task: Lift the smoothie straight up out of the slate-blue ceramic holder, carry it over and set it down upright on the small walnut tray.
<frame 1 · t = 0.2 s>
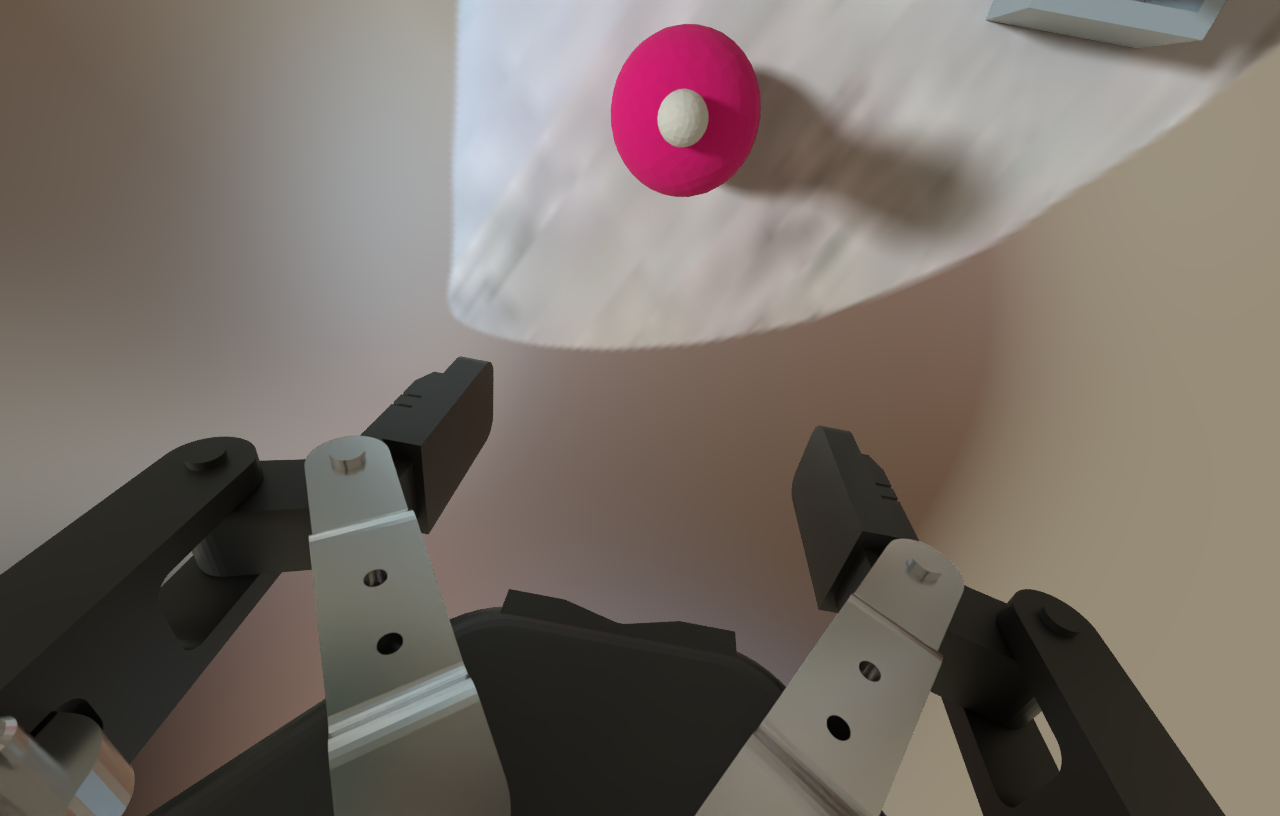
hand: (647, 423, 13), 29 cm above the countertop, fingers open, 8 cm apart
pepper mill: (689, 111, 34), on the countertop
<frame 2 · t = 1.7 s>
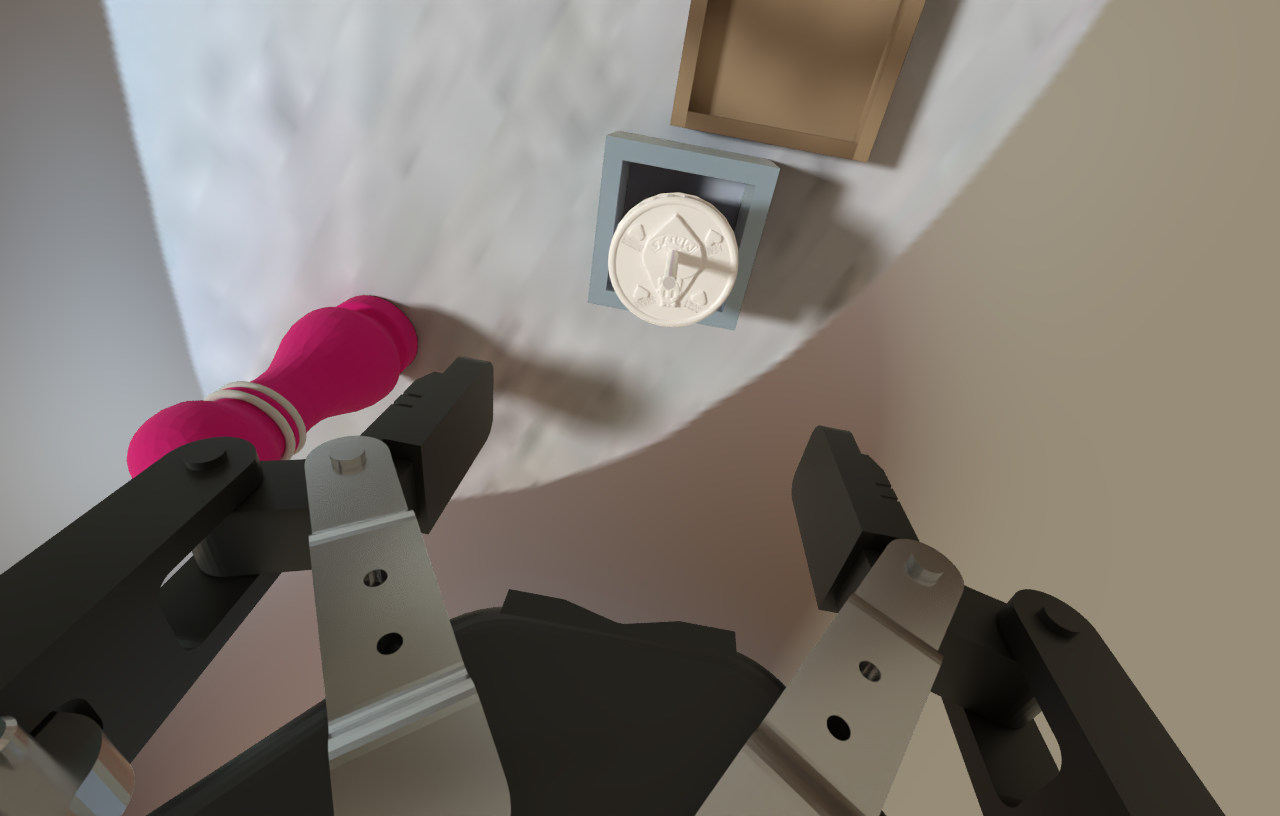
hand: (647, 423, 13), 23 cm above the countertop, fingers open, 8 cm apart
tray: (794, 24, 27), on the countertop
holder: (678, 224, 32), on the countertop
pepper mill: (380, 332, 39), on the countertop
smoothie: (678, 223, 33), resting in holder
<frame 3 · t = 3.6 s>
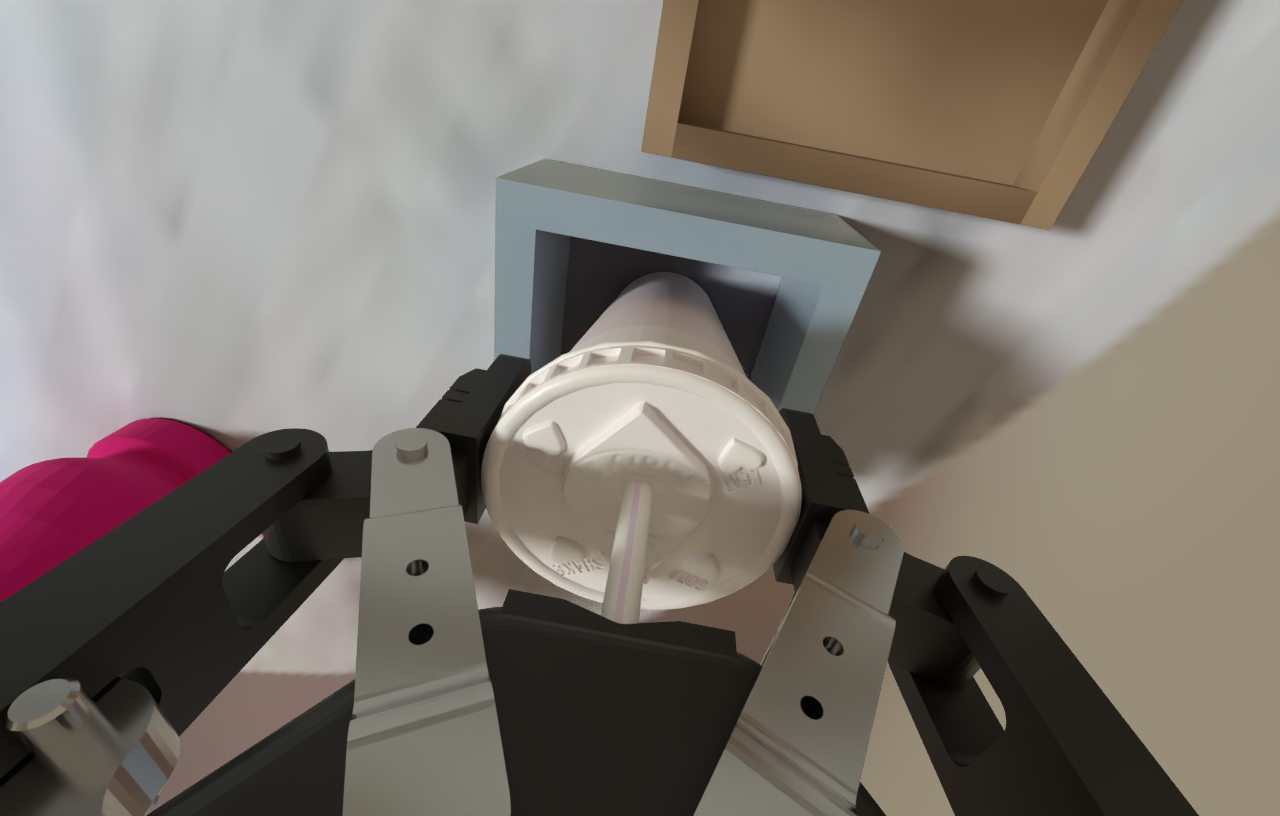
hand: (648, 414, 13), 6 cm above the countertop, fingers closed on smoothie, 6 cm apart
holder: (663, 323, 18), on the countertop
pepper mill: (194, 468, 25), on the countertop
smoothie: (663, 321, 18), resting in holder, touching gripper
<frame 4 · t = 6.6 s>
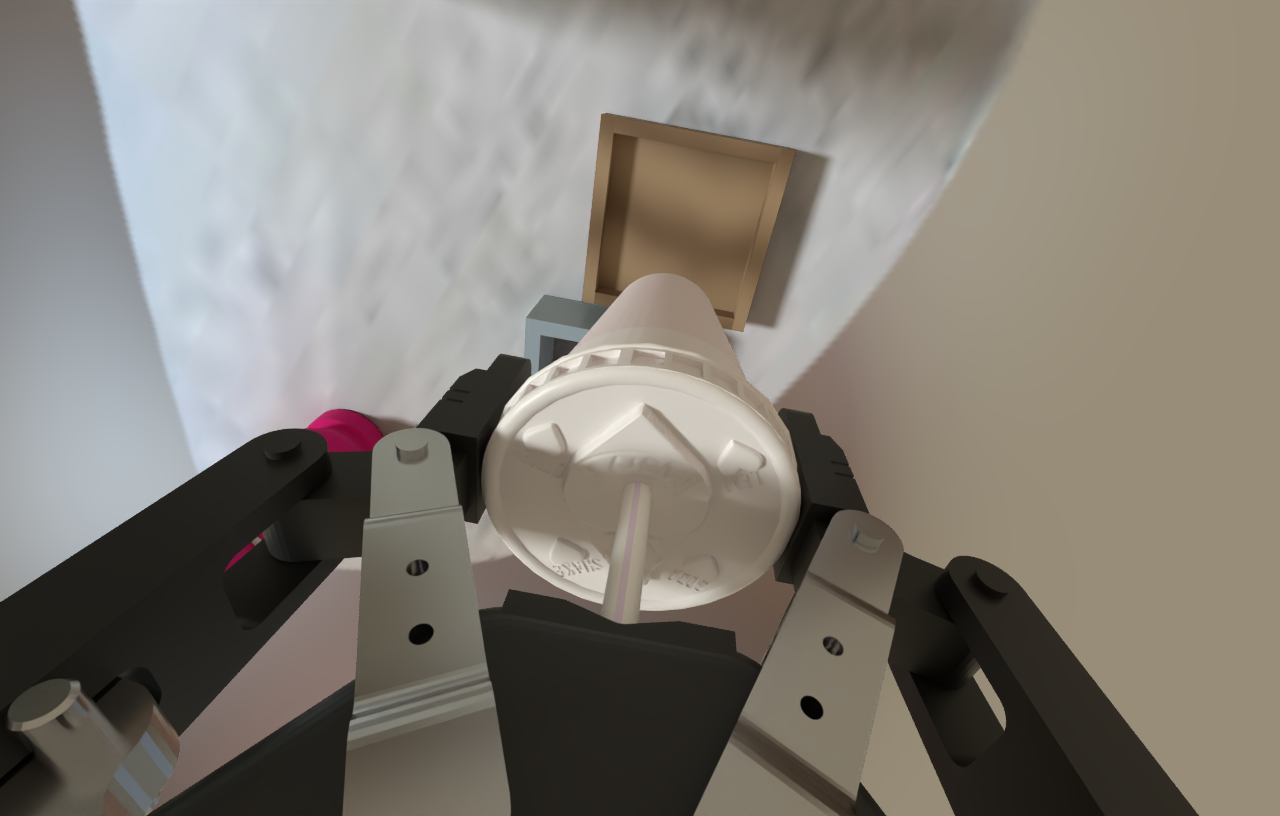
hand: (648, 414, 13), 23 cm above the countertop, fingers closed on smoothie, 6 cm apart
tray: (679, 225, 33), on the countertop
holder: (599, 363, 39), on the countertop
pepper mill: (353, 437, 45), on the countertop
smoothie: (663, 322, 18), point 17 cm above the countertop, touching gripper
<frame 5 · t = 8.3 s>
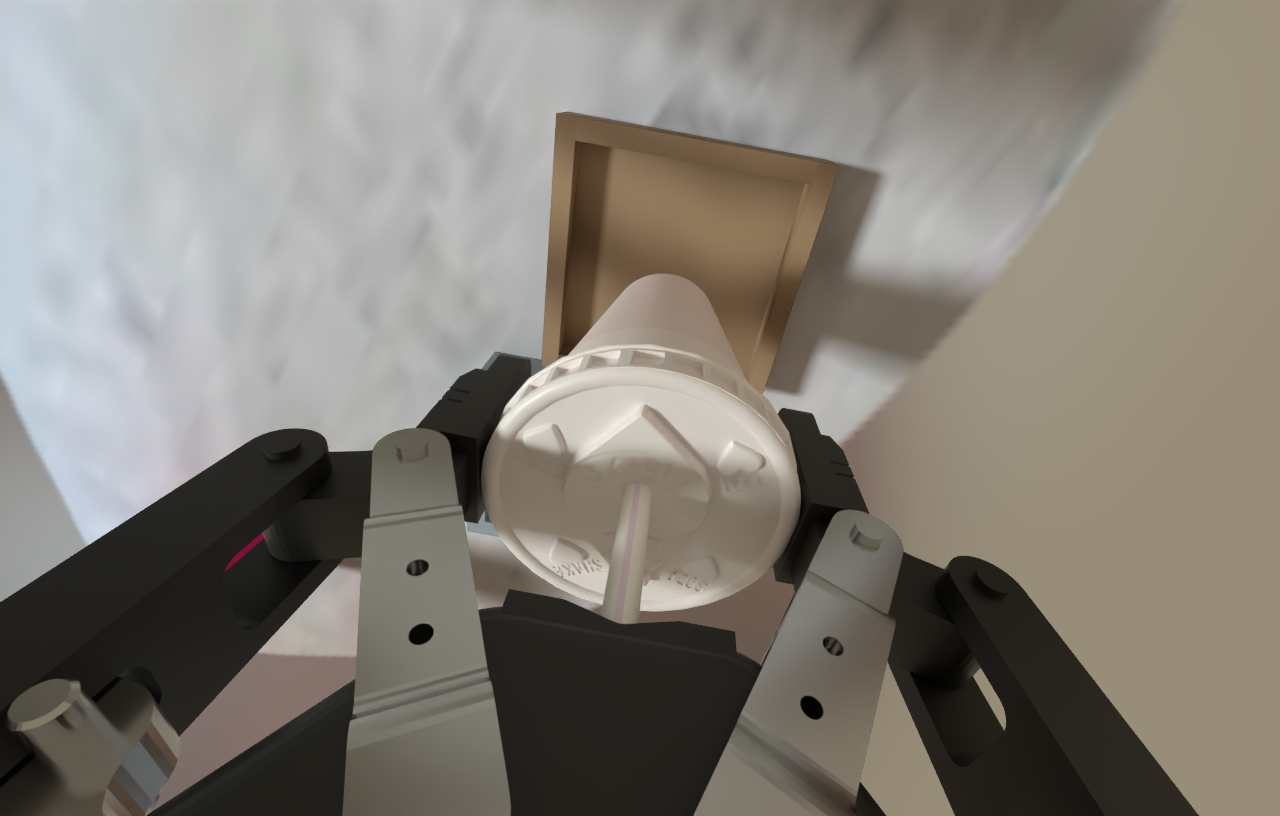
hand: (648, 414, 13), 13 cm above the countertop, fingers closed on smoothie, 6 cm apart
tray: (672, 265, 24), on the countertop
holder: (571, 435, 30), on the countertop
smoothie: (663, 322, 18), point 7 cm above the countertop, touching gripper
when the fingers open (9 cm above the countertop, at t = 9.8 s): smoothie drops 1 cm, resting on tray.
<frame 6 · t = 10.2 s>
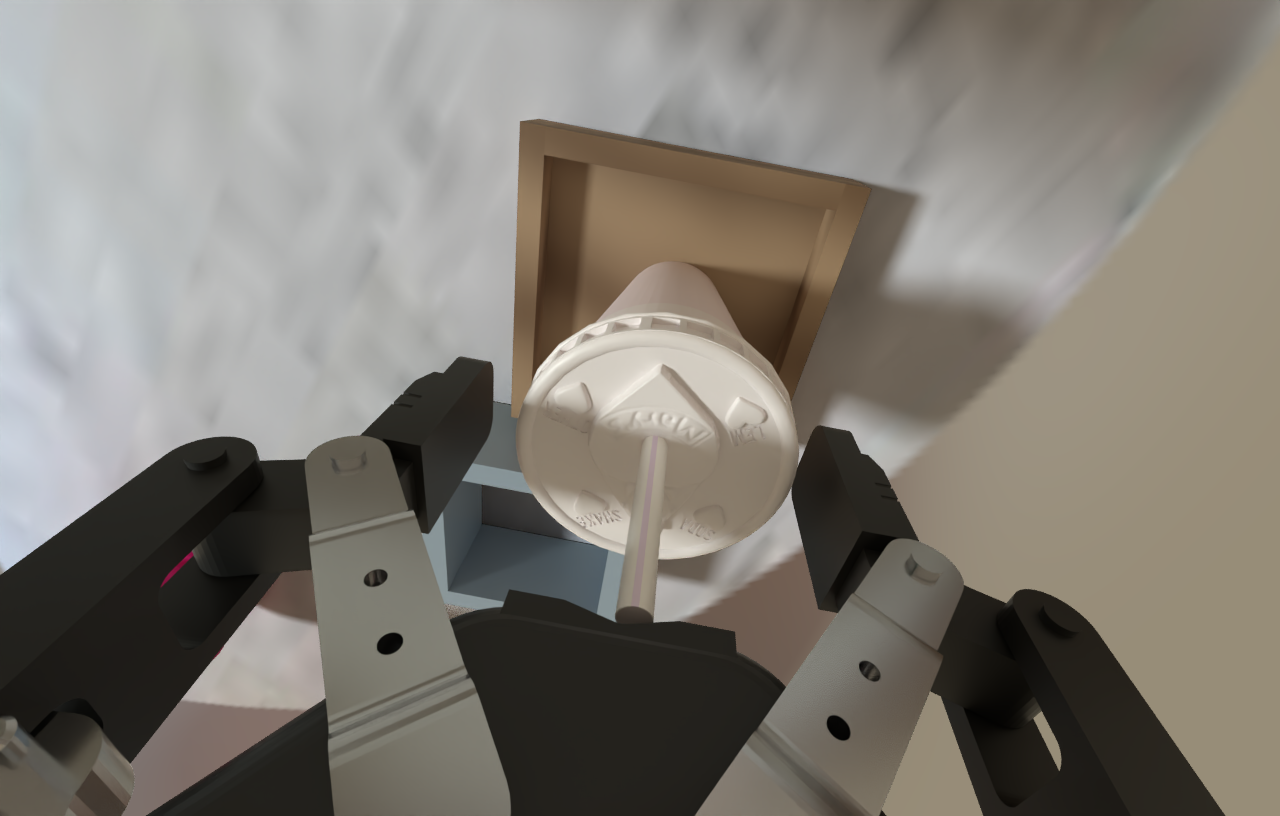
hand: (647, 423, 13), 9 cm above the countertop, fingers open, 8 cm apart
tray: (666, 300, 20), on the countertop
holder: (550, 487, 26), on the countertop
smoothie: (671, 307, 20), point 1 cm above the countertop, touching tray
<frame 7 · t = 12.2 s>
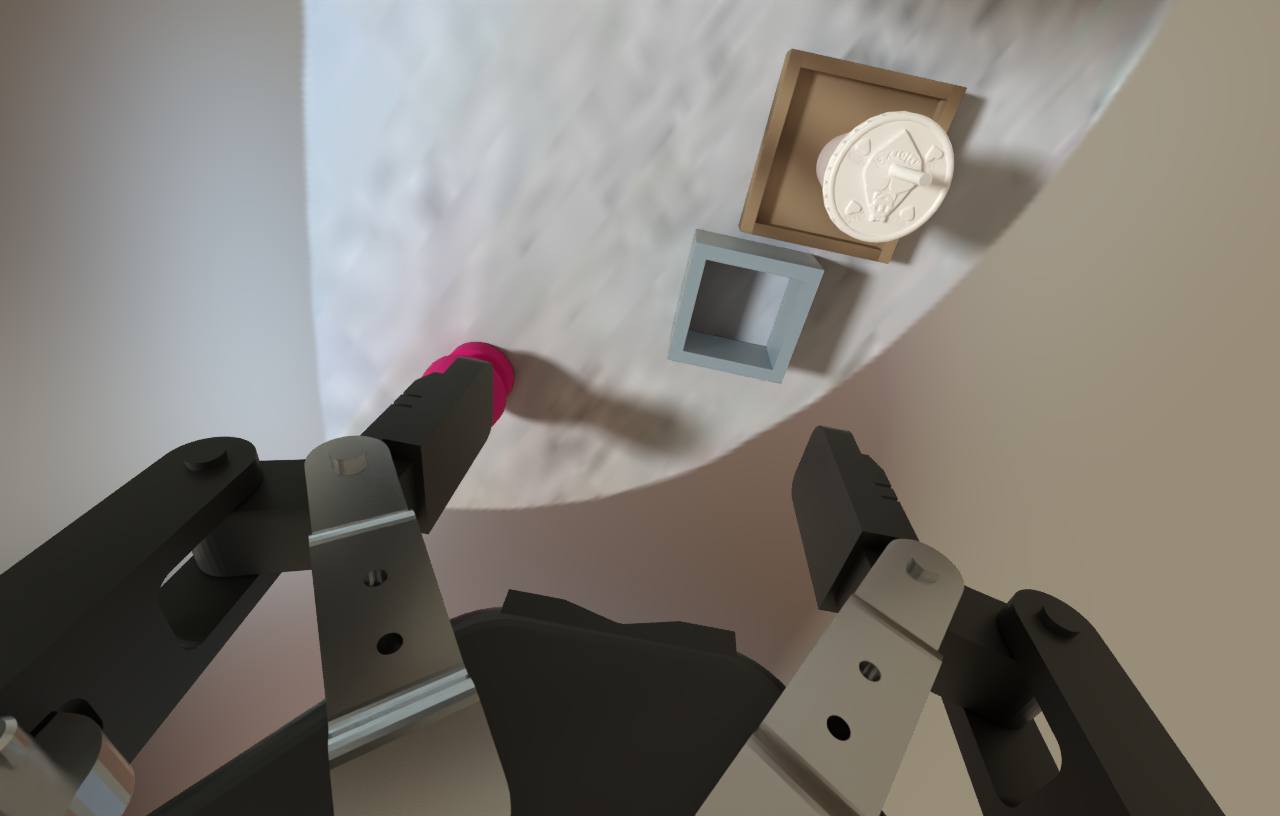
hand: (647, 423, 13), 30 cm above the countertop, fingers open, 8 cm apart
tray: (836, 162, 36), on the countertop
holder: (737, 298, 41), on the countertop
pepper mill: (483, 371, 47), on the countertop
smoothie: (843, 163, 35), point 1 cm above the countertop, touching tray
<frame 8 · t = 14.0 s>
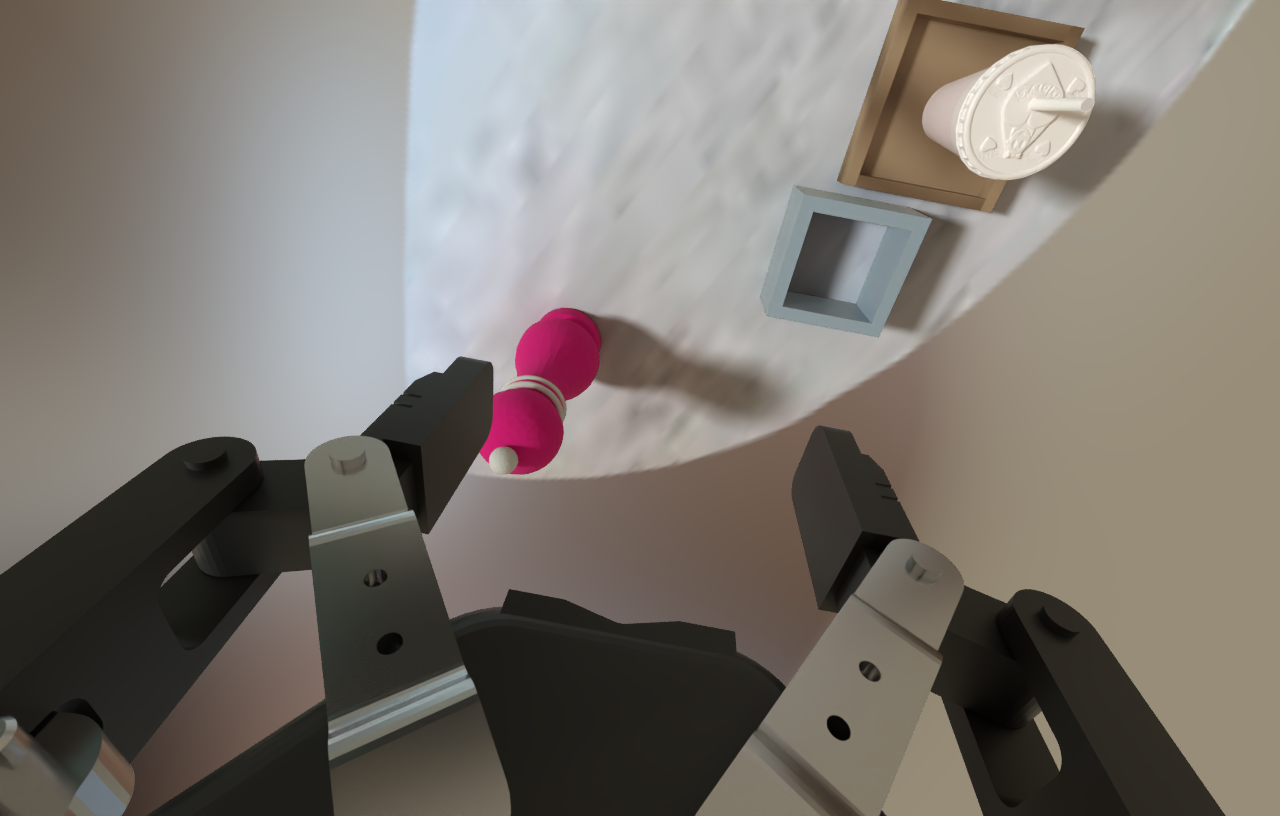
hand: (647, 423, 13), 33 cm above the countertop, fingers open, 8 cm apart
tray: (940, 112, 36), on the countertop
holder: (830, 254, 42), on the countertop
pepper mill: (569, 337, 48), on the countertop
smoothie: (949, 112, 35), point 1 cm above the countertop, touching tray
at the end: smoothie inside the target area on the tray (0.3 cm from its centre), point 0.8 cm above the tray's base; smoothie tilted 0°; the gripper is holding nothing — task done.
